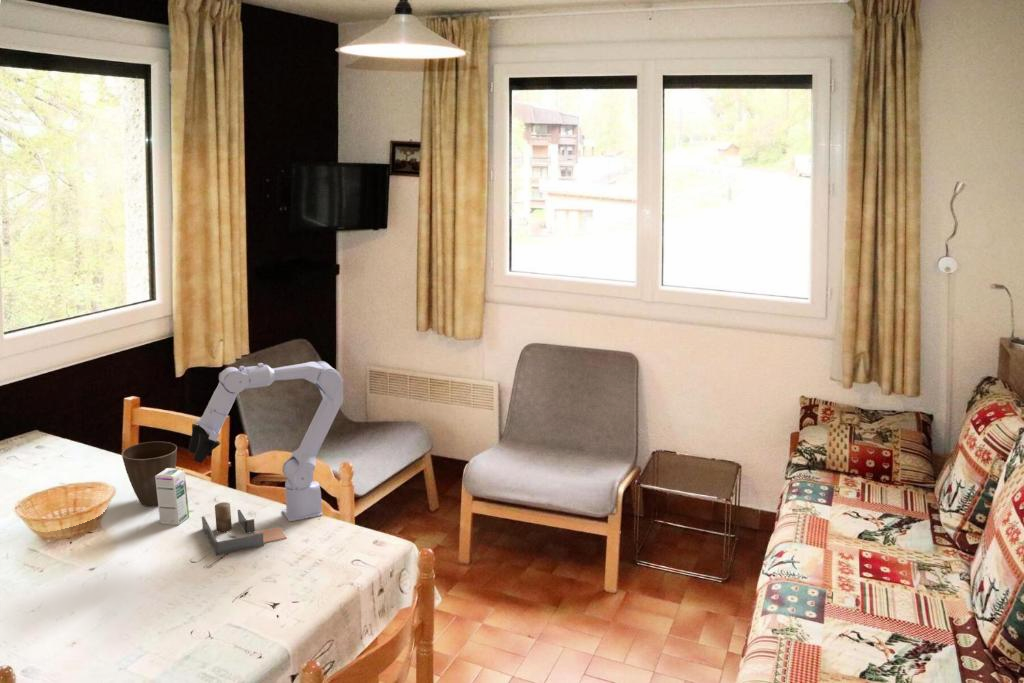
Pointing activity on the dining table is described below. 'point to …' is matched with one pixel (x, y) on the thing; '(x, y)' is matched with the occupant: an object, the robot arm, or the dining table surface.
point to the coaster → (272, 534)
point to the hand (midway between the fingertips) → (194, 456)
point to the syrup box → (172, 496)
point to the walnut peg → (223, 517)
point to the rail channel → (236, 543)
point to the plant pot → (148, 467)
